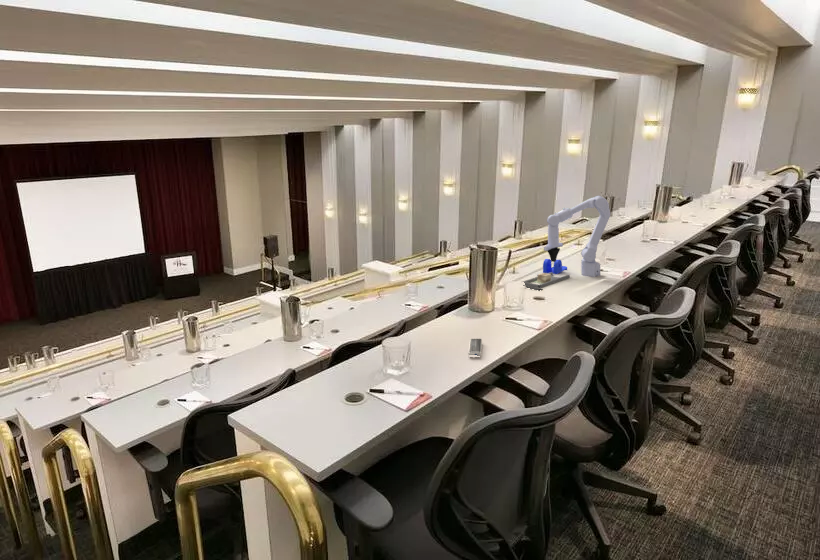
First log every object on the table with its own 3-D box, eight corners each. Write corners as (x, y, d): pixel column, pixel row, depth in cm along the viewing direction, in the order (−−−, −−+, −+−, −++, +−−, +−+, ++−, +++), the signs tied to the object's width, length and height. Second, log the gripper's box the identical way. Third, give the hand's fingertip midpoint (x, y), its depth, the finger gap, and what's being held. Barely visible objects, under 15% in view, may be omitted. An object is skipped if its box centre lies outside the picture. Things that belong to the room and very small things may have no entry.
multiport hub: (482, 344, 203) (481, 338, 202) (481, 358, 189) (480, 352, 188) (470, 344, 203) (470, 338, 203) (468, 358, 190) (468, 352, 189)
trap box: (569, 280, 283) (569, 274, 283) (539, 290, 267) (539, 285, 266) (551, 277, 292) (551, 272, 291) (521, 287, 276) (521, 282, 275)
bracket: (557, 276, 293) (557, 261, 291) (543, 275, 298) (542, 260, 296) (569, 269, 306) (569, 254, 304) (555, 268, 311) (555, 254, 309)
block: (550, 281, 278) (550, 274, 277) (545, 283, 275) (545, 275, 274) (543, 280, 282) (543, 272, 281) (537, 281, 279) (537, 274, 278)
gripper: (555, 234, 292) (555, 258, 295) (539, 238, 283) (539, 263, 287) (565, 235, 287) (565, 259, 290) (550, 239, 278) (550, 264, 281)
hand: (553, 261), depth 288 cm, fingers closed
